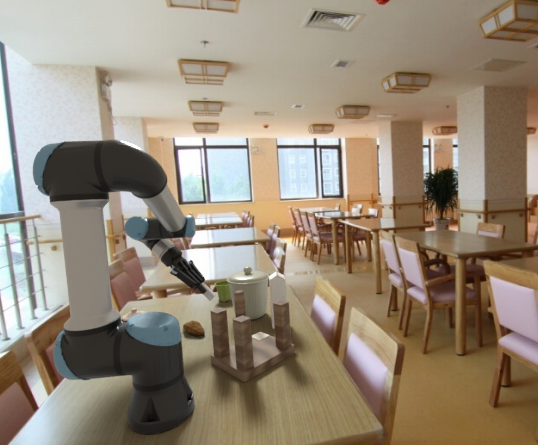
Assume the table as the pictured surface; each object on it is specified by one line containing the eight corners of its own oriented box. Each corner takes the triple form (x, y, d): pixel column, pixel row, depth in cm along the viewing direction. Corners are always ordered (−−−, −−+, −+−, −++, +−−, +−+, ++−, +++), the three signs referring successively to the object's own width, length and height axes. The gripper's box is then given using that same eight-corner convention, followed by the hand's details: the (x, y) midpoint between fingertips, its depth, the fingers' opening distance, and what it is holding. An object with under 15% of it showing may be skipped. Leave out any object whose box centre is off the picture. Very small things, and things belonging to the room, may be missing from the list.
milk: (286, 321, 125) (283, 267, 124) (288, 327, 119) (285, 270, 118) (271, 322, 125) (268, 268, 123) (272, 329, 119) (269, 271, 117)
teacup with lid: (124, 347, 112) (120, 315, 111) (123, 337, 120) (120, 307, 119) (159, 338, 117) (156, 307, 116) (156, 329, 125) (153, 301, 124)
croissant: (176, 331, 123) (175, 319, 123) (192, 325, 128) (190, 313, 127) (195, 341, 113) (194, 328, 113) (211, 334, 118) (209, 321, 118)
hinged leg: (247, 344, 101) (244, 300, 100) (236, 345, 101) (232, 301, 100) (247, 330, 112) (244, 290, 111) (236, 331, 112) (233, 291, 111)
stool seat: (244, 382, 86) (240, 323, 84) (211, 362, 97) (206, 310, 96) (295, 352, 100) (292, 301, 99) (260, 338, 112) (257, 293, 110)
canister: (221, 316, 135) (217, 268, 133) (253, 304, 147) (250, 260, 145) (247, 327, 122) (243, 274, 120) (280, 314, 134) (277, 265, 132)
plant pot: (213, 303, 153) (211, 285, 152) (219, 296, 162) (218, 280, 162) (231, 303, 152) (230, 285, 151) (236, 296, 161) (235, 280, 160)
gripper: (171, 256, 123) (214, 298, 121) (151, 263, 111) (198, 311, 108) (182, 242, 121) (226, 285, 119) (163, 248, 109) (211, 297, 106)
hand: (212, 297), depth 113 cm, fingers closed
